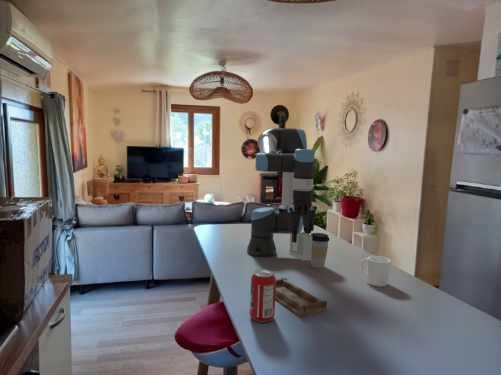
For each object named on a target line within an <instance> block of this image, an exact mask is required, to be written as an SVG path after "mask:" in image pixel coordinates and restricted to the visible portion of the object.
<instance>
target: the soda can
mask: <svg viewBox="0 0 501 375" xmlns="http://www.w3.org/2000/svg"><path fill="white" fill-rule="evenodd" d="M276 279H277V277H276V276H275V272H274V271H272V270H271V269H263V268H261V269H256V270H253V273H252V275H251V276H250V296H249V297H250V299H249V316H250V318H251V319H252V320H254V321H256V322H258V323H268V322H270V321H272V320H273V319H274V318H275V314H276V313H275V311H276V300H275V292H276Z"/></svg>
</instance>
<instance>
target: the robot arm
mask: <svg viewBox="0 0 501 375" xmlns="http://www.w3.org/2000/svg"><path fill="white" fill-rule="evenodd" d="M257 147H258V149H259V152H257V153H256V154H255V166H254V167H255V168H254V169H255V170H256V171H257V172H263V173H267V172H268V173H282V187H281V188H282V189H281V204H280V205H279V206H278V210H276V209H275V207H269V206H267V207H260V208H255V209H254V210H252V212H251V218H250V220H251V223H250V224H251V227H250V229H251V230H250V239H249V242H248V244H247V248H246V253H247V254H248V255H251V256H254V257H261V258H262V257H263V258H264V257H266V258H267V257H273V256H275V255H276V254H277V248H276V242H275V239H274V235H275V234H280V235H283V234H284V235H285V234H286V235H290V233H292V242H293V250H295V251H298V250H299V234H297V233H298V232H300V233H304V234H307V235H310V234H312V232H314V230H315V222H316V219H315V218H316V212H317V209H318V207H317V206H316V205H313V204H312V200H313V194H314V193H313V192H314V191H313V189H314V172H315V171H314V170H315V159H316V158H315V157H316V156H315V150H314V149H310V148H308V139H307V134H306V132H305V130H303V129H301V128H296V127H295V128H286V127H284V128H282V127H281V128H280V127H273V128H269V129H267V130H265V131H264V132H262V133H261V134H260V135H259V136H258V138H257ZM278 152H280V153H278ZM302 230H303V232H302Z"/></svg>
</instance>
